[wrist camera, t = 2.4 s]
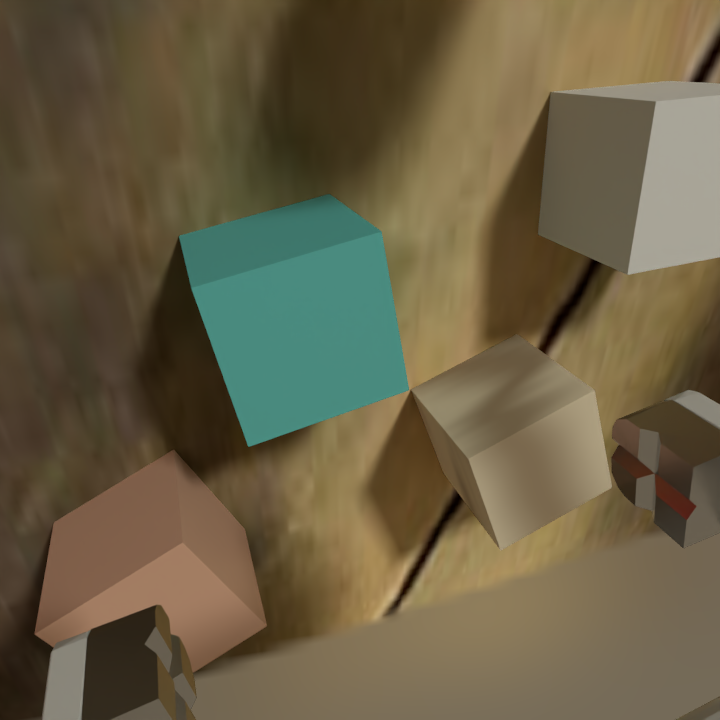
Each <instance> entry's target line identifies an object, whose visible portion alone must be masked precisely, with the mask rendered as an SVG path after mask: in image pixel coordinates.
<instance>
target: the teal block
mask: <svg viewBox="0 0 720 720" xmlns="http://www.w3.org/2000/svg"><path fill="white" fill-rule="evenodd" d="M179 238H180V243H181V247H182V251H183V255H184V260H185V264H186V268H187V272H188V276H189V281H190V285H191V289H192V292H193V294H194V297H195V300H196V303H197V305H198V308H199V311H200V314H201V317H202V319H203V322H204V325H205V328H206V330H207V333H208V336H209V339H210V342H211V344H212V347H213V350H214V353H215V355H216V358H217V361H218V364H219V367H220V369H221V372H222V375H223V378H224V380H225V383H226V386H227V389H228V392H229V394H230V397H231V400H232V403H233V405H234V408H235V411H236V414H237V417H238V419H239V422H240V425H241V428H242V431H243V433H244V436H245V439H246V442H247V444H248V447H250V446H253V445H256V444H259V443H261V442H264V441H267V440H270V439H273V438H275V437H278V436H281V435H284V434H287V433H290V432H292V431H295V430H298V429H301V428H304V427H307V426H309V425H312V424H315V423H318V422H321V421H324V420H326V419H329V418H332V417H335V416H338V415H340V414H343V413H346V412H349V411H352V410H355V409H357V408H360V407H363V406H366V405H369V404H372V403H374V402H377V401H380V400H383V399H386V398H388V397H391V396H394V395H397V394H400V393H403V392H405V391H408V390H409V387H408V381H407V375H406V369H405V364H404V358H403V352H402V346H401V341H400V335H399V329H398V323H397V318H396V312H395V306H394V300H393V295H392V289H391V283H390V278H389V272H388V266H387V260H386V255H385V249H384V243H383V237H382V232H381V231H380V230H379V229H377V228H376V227H374V226H373V225H372V224H370V223H369V222H368V221H366V220H365V219H363V218H362V217H361V216H359V215H358V214H356V213H355V212H354V211H352V210H351V209H350V208H348V207H347V206H345V205H344V204H343V203H341V202H340V201H338V200H337V199H336V198H334V197H333V196H332V195H330V194H327V195H324V196H320V197H317V198H313V199H310V200H306V201H302V202H299V203H295V204H292V205H288V206H284V207H281V208H277V209H274V210H270V211H267V212H263V213H259V214H256V215H252V216H249V217H245V218H241V219H238V220H234V221H231V222H227V223H224V224H220V225H216V226H213V227H209V228H206V229H202V230H198V231H195V232H191V233H188V234H184V235H181V236H179Z"/></svg>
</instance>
